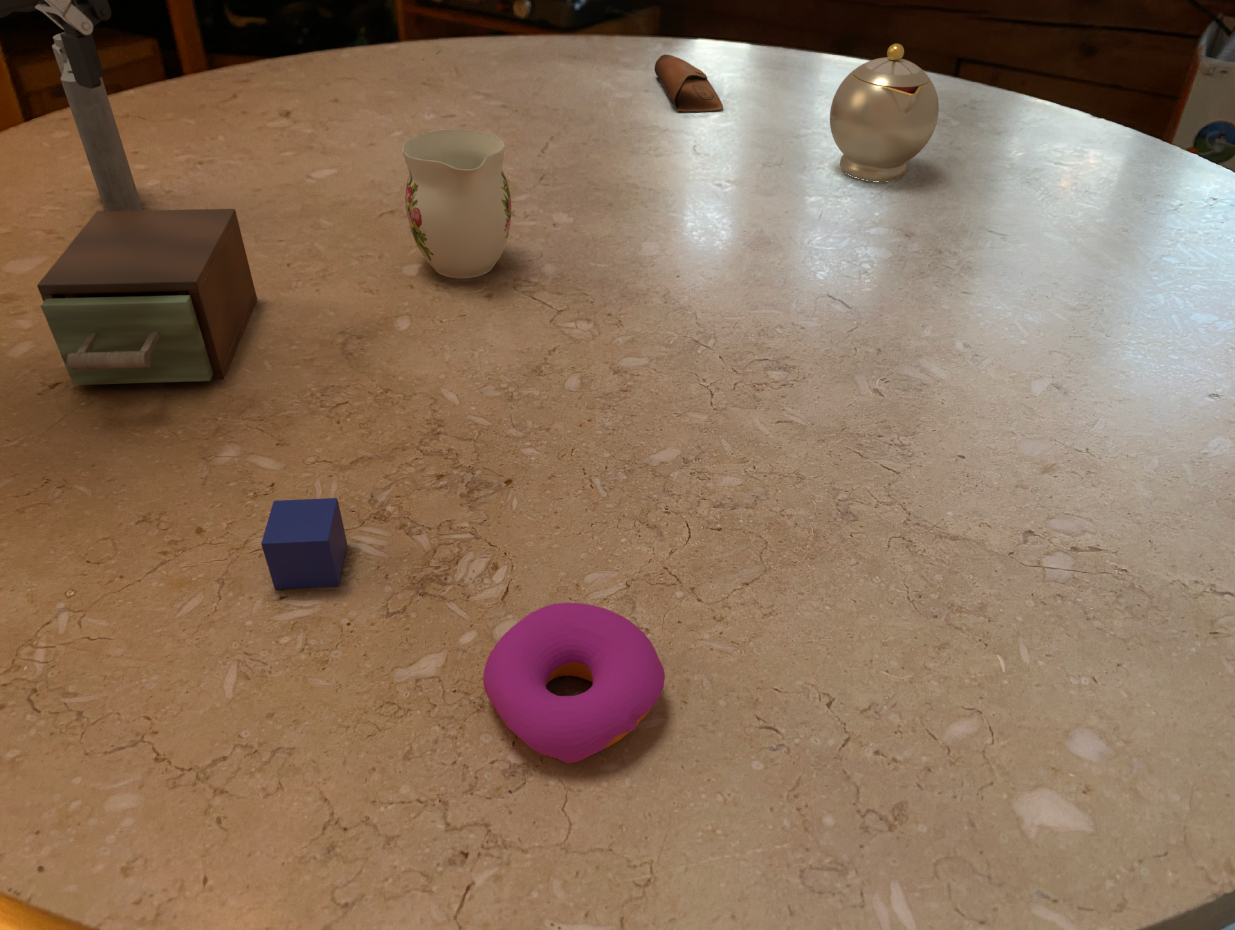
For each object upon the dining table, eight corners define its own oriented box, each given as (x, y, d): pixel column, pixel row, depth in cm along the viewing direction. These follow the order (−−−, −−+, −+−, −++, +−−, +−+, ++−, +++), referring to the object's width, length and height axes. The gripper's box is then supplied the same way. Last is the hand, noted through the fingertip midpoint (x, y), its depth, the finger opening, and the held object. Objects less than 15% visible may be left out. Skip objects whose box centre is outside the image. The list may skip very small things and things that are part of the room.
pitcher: (492, 221, 112) (484, 104, 103) (531, 291, 99) (526, 163, 90) (399, 232, 109) (383, 113, 101) (427, 306, 96) (412, 175, 87)
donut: (462, 681, 59) (456, 633, 56) (595, 613, 64) (595, 565, 61) (550, 803, 53) (548, 756, 50) (690, 717, 58) (696, 669, 55)
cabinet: (224, 379, 85) (196, 281, 79) (76, 383, 84) (36, 285, 78) (257, 298, 96) (235, 208, 90) (128, 302, 95) (96, 210, 89)
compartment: (196, 411, 79) (170, 331, 74) (53, 417, 78) (17, 335, 73) (243, 304, 94) (224, 230, 89) (122, 307, 92) (96, 233, 88)
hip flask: (101, 192, 116) (42, 18, 103) (136, 186, 118) (83, 14, 105) (115, 244, 105) (52, 56, 93) (154, 237, 107) (97, 52, 94)
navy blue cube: (274, 589, 65) (260, 543, 62) (285, 545, 68) (273, 500, 66) (339, 586, 65) (328, 540, 63) (347, 542, 69) (337, 497, 66)
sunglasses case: (727, 107, 144) (709, 69, 140) (687, 132, 146) (668, 95, 142) (702, 72, 158) (685, 36, 154) (666, 95, 160) (647, 60, 156)
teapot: (941, 192, 122) (974, 60, 112) (841, 196, 120) (865, 62, 110) (891, 142, 136) (916, 21, 126) (800, 145, 134) (818, 22, 124)
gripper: (13, -172, 66) (91, 69, 76) (-211, -154, 56) (-88, 119, 66) (82, -164, 63) (153, 85, 73) (-142, -144, 53) (-24, 140, 63)
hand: (38, 101), depth 70 cm, fingers open, 8 cm apart
